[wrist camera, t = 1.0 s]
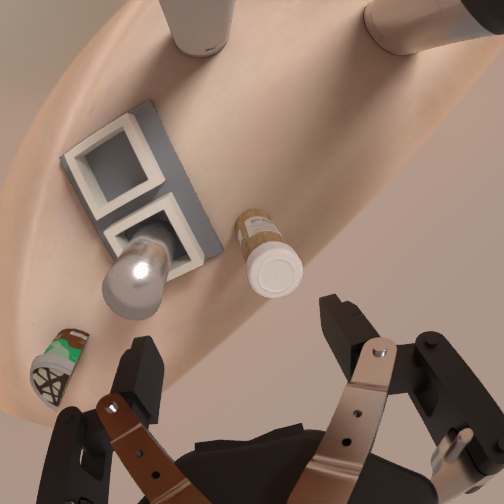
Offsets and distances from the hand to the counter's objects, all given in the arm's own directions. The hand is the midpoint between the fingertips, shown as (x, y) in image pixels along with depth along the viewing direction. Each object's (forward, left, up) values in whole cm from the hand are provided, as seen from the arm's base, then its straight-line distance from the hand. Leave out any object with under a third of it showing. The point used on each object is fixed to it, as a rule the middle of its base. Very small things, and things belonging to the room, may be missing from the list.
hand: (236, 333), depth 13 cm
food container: (+32, +8, -23) cm, 40 cm away
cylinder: (+8, 0, -22) cm, 24 cm away
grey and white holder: (+8, -5, -23) cm, 25 cm away
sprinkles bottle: (-3, +4, -23) cm, 24 cm away
